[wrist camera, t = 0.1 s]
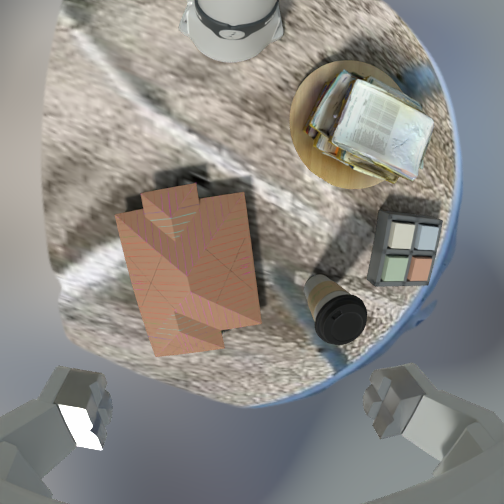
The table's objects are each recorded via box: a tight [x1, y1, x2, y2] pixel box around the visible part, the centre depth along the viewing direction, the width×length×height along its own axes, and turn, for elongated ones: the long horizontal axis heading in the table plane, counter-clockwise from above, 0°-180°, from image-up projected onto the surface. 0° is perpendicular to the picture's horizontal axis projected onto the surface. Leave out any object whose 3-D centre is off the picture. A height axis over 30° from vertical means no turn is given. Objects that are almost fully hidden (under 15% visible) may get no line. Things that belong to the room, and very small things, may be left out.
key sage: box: [381, 255, 409, 281], centre depth 58 cm, size 5×5×2 cm
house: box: [115, 183, 262, 357], centre depth 54 cm, size 23×33×8 cm
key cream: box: [388, 221, 415, 249], centre depth 56 cm, size 5×5×2 cm
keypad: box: [367, 210, 443, 287], centre depth 60 cm, size 15×15×4 cm
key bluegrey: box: [414, 224, 439, 250], centre depth 57 cm, size 5×5×2 cm
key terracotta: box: [407, 256, 432, 281], centre depth 59 cm, size 5×5×2 cm
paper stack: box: [290, 60, 434, 189], centre depth 44 cm, size 25×25×17 cm
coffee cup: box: [304, 274, 367, 345], centre depth 55 cm, size 9×9×15 cm
